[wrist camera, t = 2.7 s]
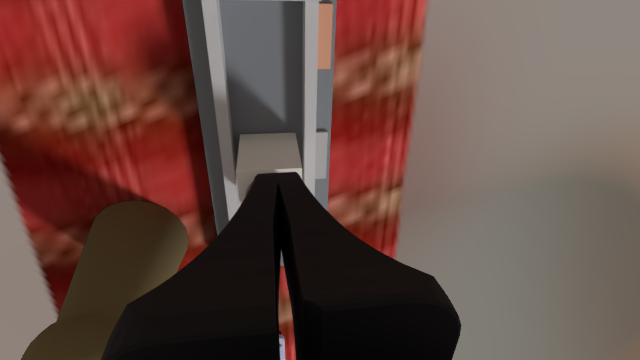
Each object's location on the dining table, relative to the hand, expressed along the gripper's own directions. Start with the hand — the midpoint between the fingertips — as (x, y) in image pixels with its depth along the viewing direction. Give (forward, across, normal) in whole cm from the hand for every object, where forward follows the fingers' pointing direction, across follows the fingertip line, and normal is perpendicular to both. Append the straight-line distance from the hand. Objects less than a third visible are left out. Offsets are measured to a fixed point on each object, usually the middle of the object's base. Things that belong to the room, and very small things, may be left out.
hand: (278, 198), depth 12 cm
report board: (+10, 0, +3) cm, 11 cm away
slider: (+9, 0, +3) cm, 9 cm away
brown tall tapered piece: (+11, +9, +10) cm, 17 cm away
